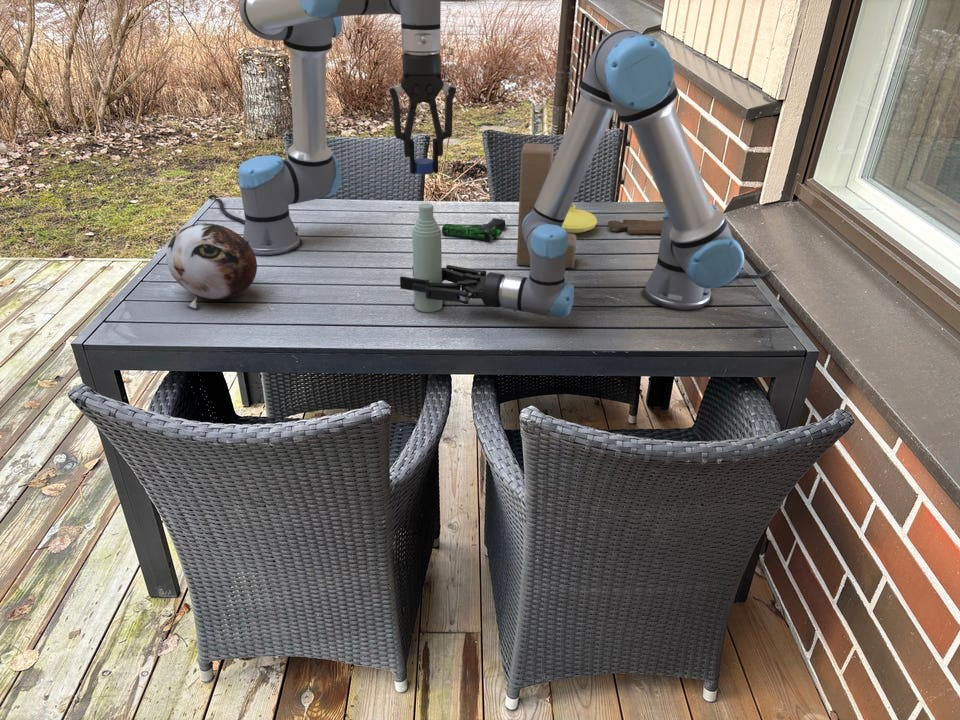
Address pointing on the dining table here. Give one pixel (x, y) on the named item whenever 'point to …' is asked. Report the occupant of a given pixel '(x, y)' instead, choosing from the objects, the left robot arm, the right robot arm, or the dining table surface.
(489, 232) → the handgun
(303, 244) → the dining table surface
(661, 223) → the wooden paddle board
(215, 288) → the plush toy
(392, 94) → the left robot arm
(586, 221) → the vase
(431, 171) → the cap
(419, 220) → the bottle
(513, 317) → the dining table surface
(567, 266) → the decorative block
